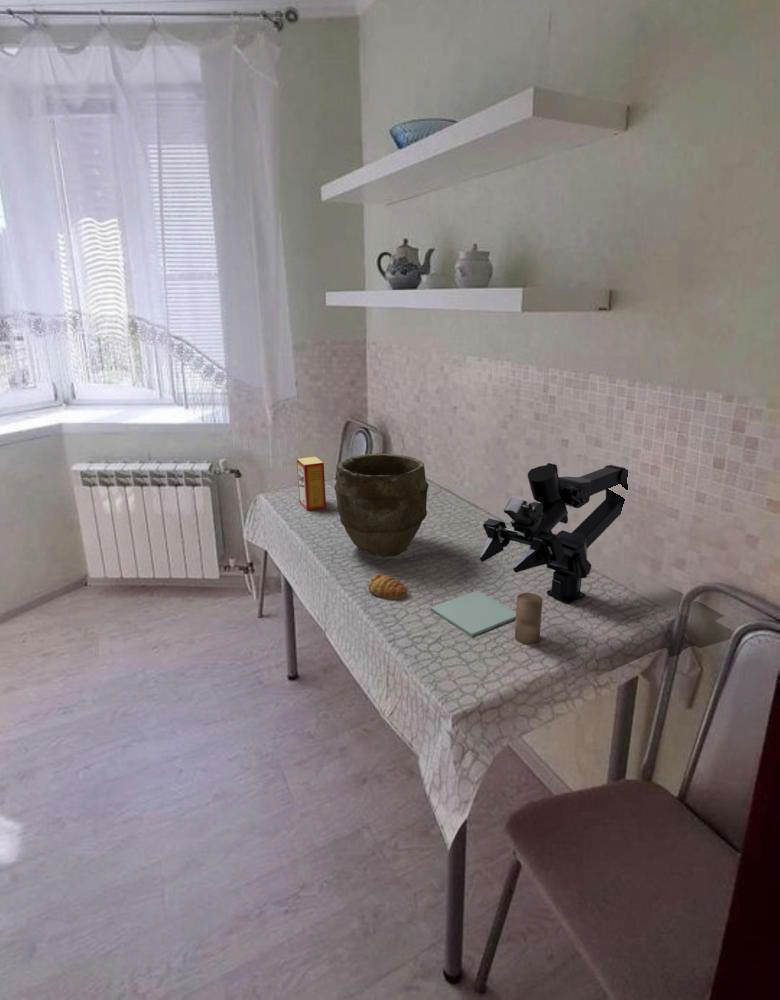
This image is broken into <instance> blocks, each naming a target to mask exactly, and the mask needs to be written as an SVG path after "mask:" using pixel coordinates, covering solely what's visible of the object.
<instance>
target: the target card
mask: <svg viewBox="0 0 780 1000" xmlns="http://www.w3.org/2000/svg"><path fill="white" fill-rule="evenodd" d="M429 610H430V611H432V612H433V613H434V614H436V615H438V616H439V617H440V618H441V619H442V618H443V619H444V620H446V621H447V622H448V623H450V624H452V625H453V626H455V627H456V628H458V629H459V630H461V631H463V632H464V633H466V634H467V635H468V636H470V637H473V636H476V635H479V634H481V633H484V632H486V631H488V630H491V629H494V628H496V627H498V625H499V626H501V625H504V624H506V623H509V622H511V621H513V620H516V610H513V609H511V608H510V607H508V606H506V605H504V604H503V603H501V602H498V601H497V600H495V599H493V598H491V597H489V596H488V595H486V594H484V593H482V592H480V591H478V590H475V591H472V592H469V593H467V594H464V595H460V596H459V597H456V598H453V599H450V600H448V601H447V600H446V601H444V602H441V603H439V604H435V605H433V606H430V609H429Z"/></svg>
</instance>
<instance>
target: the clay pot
mask: <svg viewBox="0 0 780 1000" xmlns="http://www.w3.org/2000/svg"><path fill="white" fill-rule="evenodd" d="M335 473H336V475H335V476H336V481H335V484H334V487H333V488H334V489H333V490H334V491H335V497H336V503H337V505H336V507H337V511H338V515H339V521H340V523H341V525H342V526H343V527H344V529H345V532H346V533H347V535H348V537H349V539H350V540H351V541H352V543H353V544H354V545H355V546H356V547H357V548H359V549H360V550H361V551H362V552H366V553H369V554H371V555H373V556H378V557H381V558H392V557H398V556H399V555H400V554H403V553H405V552H406V551H407V549H408V547H409V545H410V544H411V542H412V541H413V539H414V538H415V537H416V534H417V533H418V531H419V529H420V528H421V525H422V523H423V521H424V520H425V518H426V517H427V515H428V512H427V511H428V510H427V500H428V490H429V487H430V485H429V483H428V481H427V479H426V469H425V463H424V462H423V461H422V460H421V459H418V458H416V457H412V456H407V455H400V454H395V453H380V452H379V453H375V454H374V453H368V454H361V455H355V456H351V457H350V458H346V459H345V460H342V461H339V463H337V464H336V472H335Z"/></svg>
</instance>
